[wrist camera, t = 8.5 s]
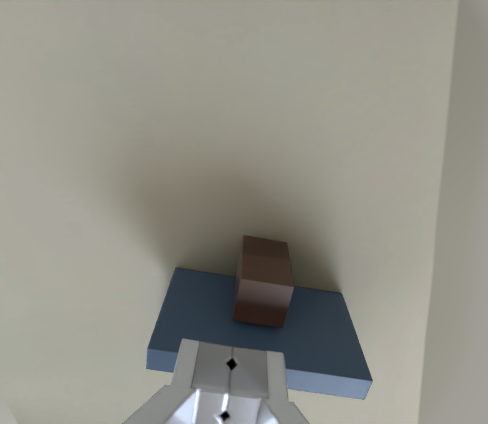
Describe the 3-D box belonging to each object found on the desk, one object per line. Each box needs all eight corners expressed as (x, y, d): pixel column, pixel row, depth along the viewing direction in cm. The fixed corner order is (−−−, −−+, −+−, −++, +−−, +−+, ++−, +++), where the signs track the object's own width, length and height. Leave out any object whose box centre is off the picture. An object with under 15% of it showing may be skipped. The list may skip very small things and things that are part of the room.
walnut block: (240, 243, 35) (249, 218, 28) (280, 250, 35) (299, 227, 29) (228, 323, 33) (235, 317, 26) (272, 330, 33) (291, 326, 26)
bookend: (175, 267, 34) (147, 348, 25) (342, 293, 35) (373, 380, 26) (168, 332, 38) (141, 424, 29) (321, 354, 38) (341, 451, 29)
